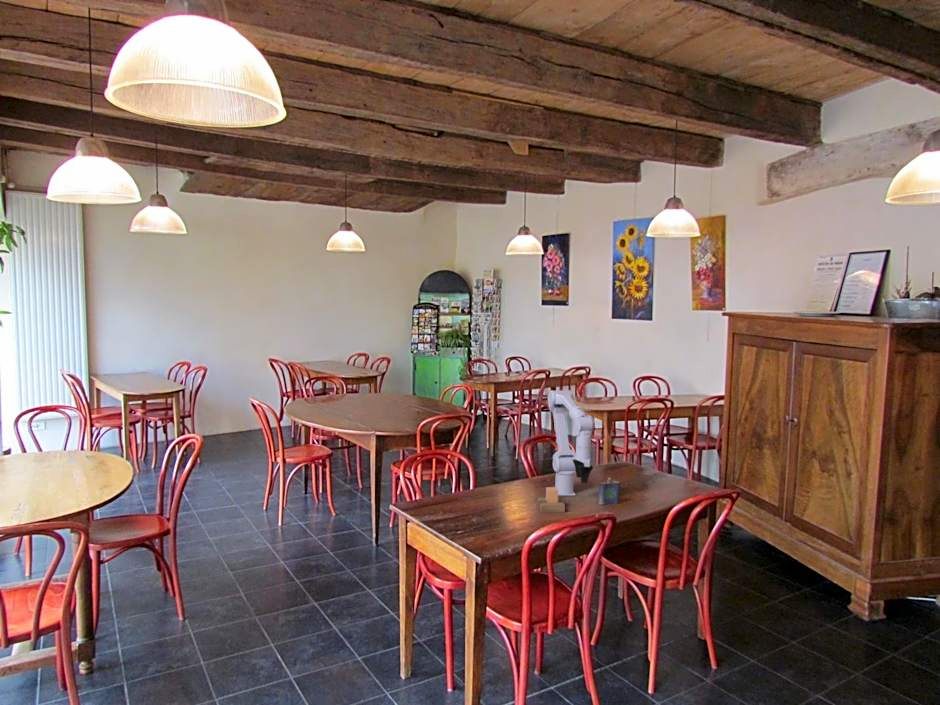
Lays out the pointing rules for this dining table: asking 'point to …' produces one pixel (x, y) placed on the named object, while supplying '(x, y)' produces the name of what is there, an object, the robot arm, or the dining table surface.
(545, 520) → the dining table surface
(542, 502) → the base
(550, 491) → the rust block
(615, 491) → the flask
